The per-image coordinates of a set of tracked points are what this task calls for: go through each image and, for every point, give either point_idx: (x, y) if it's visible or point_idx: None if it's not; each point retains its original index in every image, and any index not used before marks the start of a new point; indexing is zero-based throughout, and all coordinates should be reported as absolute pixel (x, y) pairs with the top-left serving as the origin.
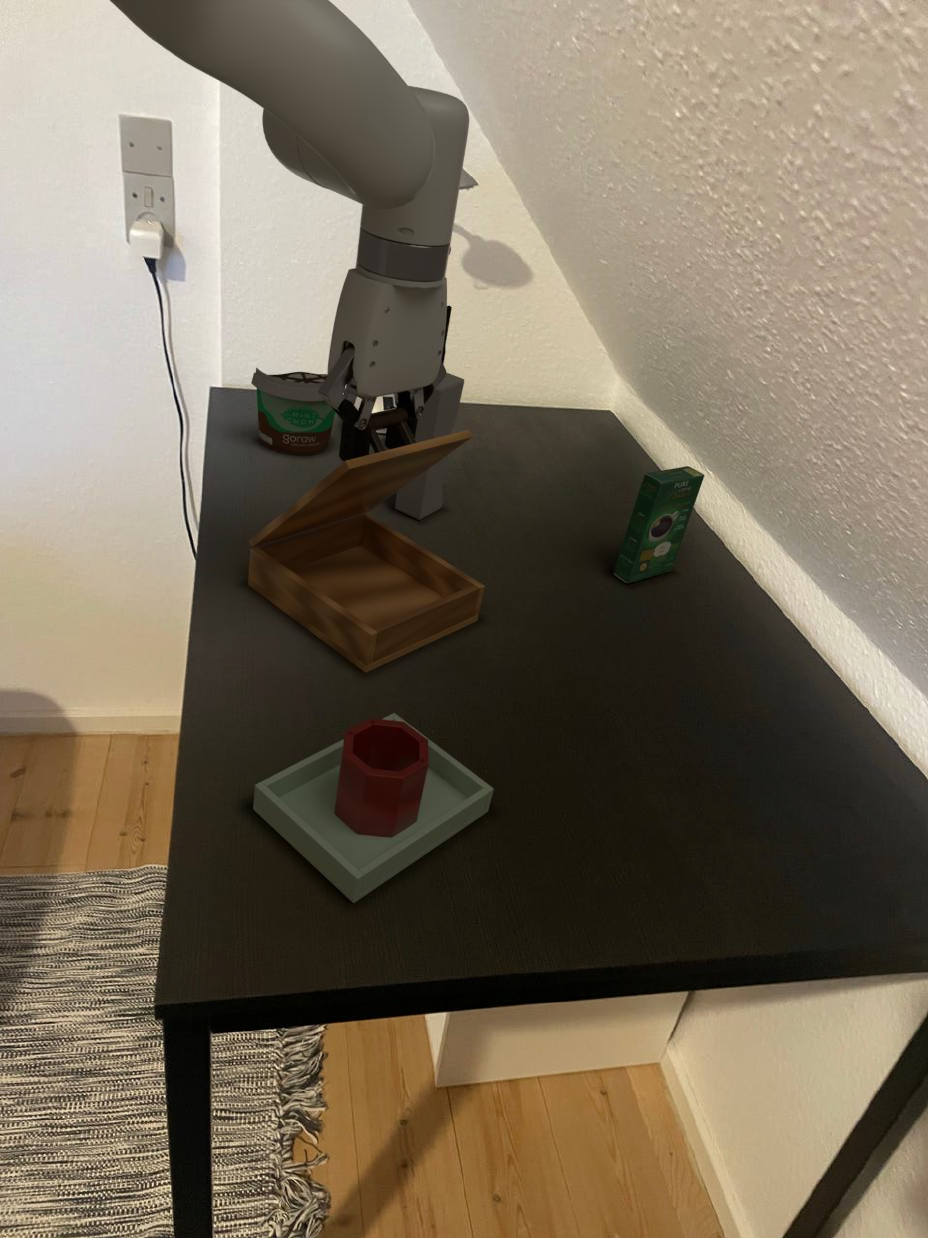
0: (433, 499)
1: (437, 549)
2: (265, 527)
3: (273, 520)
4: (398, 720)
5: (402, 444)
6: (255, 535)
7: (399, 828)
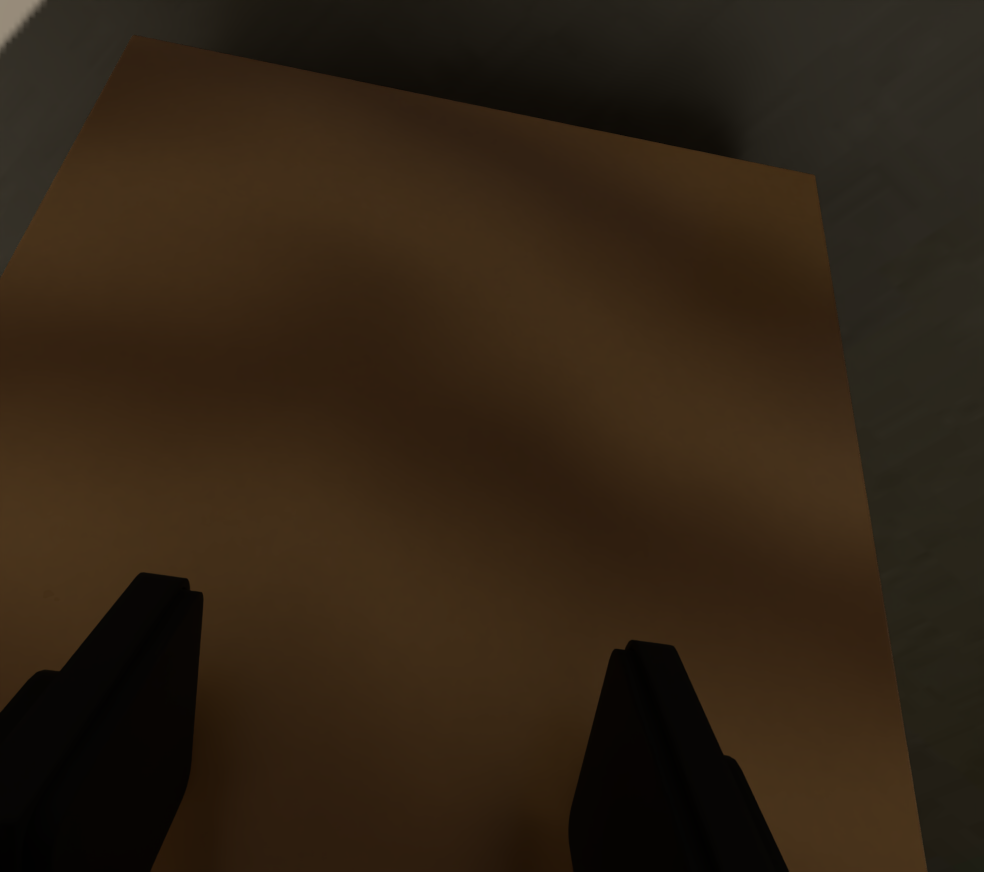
0: None
1: (911, 384)
2: (72, 147)
3: (40, 206)
4: None
5: (589, 851)
6: (108, 79)
7: None
